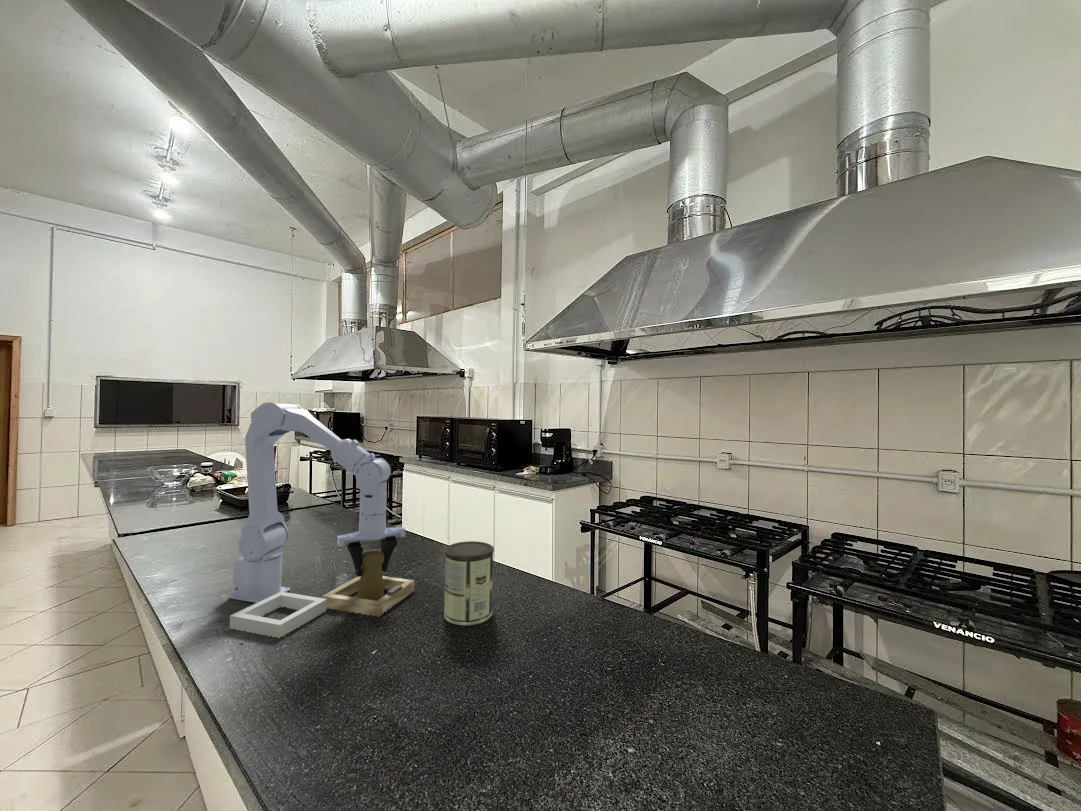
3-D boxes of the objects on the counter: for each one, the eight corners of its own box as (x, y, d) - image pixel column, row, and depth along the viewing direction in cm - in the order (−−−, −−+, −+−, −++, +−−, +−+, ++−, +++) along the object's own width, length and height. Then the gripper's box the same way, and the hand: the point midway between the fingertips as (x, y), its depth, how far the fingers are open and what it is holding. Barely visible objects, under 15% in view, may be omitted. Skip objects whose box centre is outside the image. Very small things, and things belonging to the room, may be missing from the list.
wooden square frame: (322, 607, 96) (322, 593, 96) (363, 583, 110) (364, 570, 110) (378, 616, 93) (378, 602, 93) (414, 590, 106) (414, 577, 106)
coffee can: (461, 600, 102) (463, 538, 102) (500, 609, 97) (502, 545, 98) (432, 618, 92) (434, 550, 93) (474, 630, 88) (476, 559, 88)
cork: (376, 606, 97) (378, 555, 97) (350, 603, 98) (352, 553, 98) (389, 595, 103) (391, 547, 103) (364, 593, 104) (367, 545, 104)
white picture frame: (229, 628, 86) (230, 615, 86) (280, 602, 98) (280, 591, 98) (279, 638, 83) (280, 624, 83) (326, 610, 95) (326, 598, 95)
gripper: (343, 520, 94) (341, 585, 94) (410, 512, 102) (408, 571, 102) (335, 513, 99) (333, 574, 99) (399, 506, 108) (398, 562, 108)
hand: (371, 572), depth 101 cm, fingers closed on cork, 5 cm apart
